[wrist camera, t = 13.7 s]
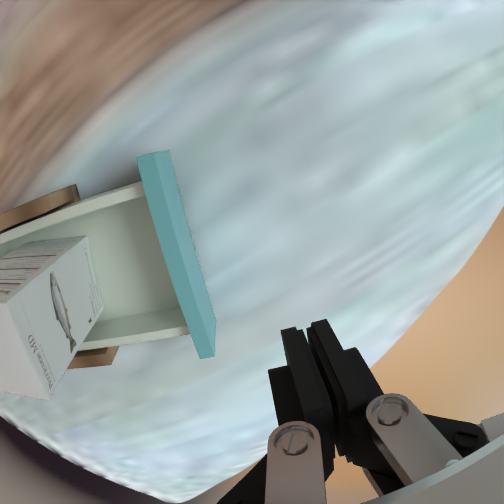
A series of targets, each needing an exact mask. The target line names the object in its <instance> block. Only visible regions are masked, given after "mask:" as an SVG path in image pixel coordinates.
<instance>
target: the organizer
mask: <svg viewBox="0 0 504 504" xmlns="http://www.w3.org/2000/svg"><path fill="white" fill-rule="evenodd" d="M78 201H81V200H80V197H79V193H78V190H77V186H76V184H75V185H72V186H69V187H66V188H64V189H61V190H58V191H55V192H53V193H50V194H48V195H45V196H42V197H40V198H38V199H35V200H33V201H30V202H28V203H26V204H24V205H21V206H19V207H17V208H15V209H12V210H10V211H8V212H6V213H4V214H1V215H0V232H1V231H3V230H5V229H8V228H10V227H12V226H15V225H17V224H20V223H22V222H24V221H27V220H29V219H32V218H35V217H37V216H40V215H42V214H45V213H47V212H50V211H53V210H55V209H58V208H61V207H64V206H66V205H69V204H72V203H75V202H78ZM119 346H120V345H119ZM119 346H112V347H104V348H97V349H89V350H81V351H77V352H76V354H75V356H74V357H73V359H72V361H71V362H70V364H69V366H68V367H67V369H73V368H85V367H95V366H105V365H111V364H112V361H113V359H114V357H115V355H116V352H117V350H118V348H119Z"/></svg>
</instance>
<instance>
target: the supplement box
mask: <svg viewBox="0 0 504 504" xmlns="http://www.w3.org/2000/svg"><path fill="white" fill-rule="evenodd" d="M103 310H104V306H103V303H102V300H101V297H100V293H99V290H98V286H97V282H96V278H95V273H94V268H93V263H92V258H91V253H90V247H89V240H88V236H80V237H71V238H61V239H51V240H42V241H33V242H27V243H25V244H24V245H22V246H20V247H19V248H17V249H15V250H14V251H12V252H10V253H8V254H7V255H5V256H4V257H2V258H1V259H0V391H2V392H6V393H11V394H16V395H21V396H26V397H31V398H36V399H43V400H49V399H50V397H51V395H52V394H53V392H54V390H55V388H56V386H57V385H58V383H59V381H60V379H61V378H62V376H63V374H64V373H65V371H66V369H67V367H68V366H69V364H70V362H71V361H72V359H73V357H74V356H75V354H76V352H77V351H78V349H79V348H80V346H81V344H82V343H83V341H84V339H85V338H86V336H87V335H88V333H89V332H90V330H91V328H92V327H93V325H94V324H95V322H96V321H97V319H98V318H99V316H100V314H101V313H102V311H103Z"/></svg>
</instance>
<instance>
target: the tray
mask: <svg viewBox="0 0 504 504" xmlns="http://www.w3.org/2000/svg"><path fill="white" fill-rule="evenodd" d="M136 160H137V164H138V168H139V172H140V175H141V179H142V181H140V182H137V183H133V184H130V185H127V186H123V187H120V188H117V189H114V190H111V191H108V192H104V193H101V194H98V195H95V196H92V197H89V198H86V199H83V200H81V201H78V202H75V203H72V204H69V205H66V206H64V207H61V208H58V209H55V210H53V211H50V212H47V213H45V214H42V215H40V216H37V217H35V218H32V219H29V220H27V221H24V222H22V223H20V224H17V225H15V226H12V227H10V228H8V229H5V230H3V231H1V232H0V259H1V258H2V257H4V256H5V255H7V254H8V253H10V252H12V251H14V250H15V249H17V248H19V247H20V246H22V245H24V244H25V243H27V242H33V241H42V240H51V239H61V238H71V237H80V236H88V240H89V247H90V253H91V258H92V263H93V268H94V273H95V278H96V282H97V286H98V290H99V293H100V297H101V300H102V303H103V306H104V310H103V311H102V313H101V314H100V316H99V318H98V319H97V321H96V322H95V324H94V325H93V327H92V328H91V330H90V332H89V333H88V335H87V336H86V338H85V339H84V341H83V343H82V344H81V346H80V348H79V349H78V351H81V350H89V349H97V348H104V347H112V346H119V345H126V344H132V343H139V342H145V341H152V340H158V339H164V338H170V337H176V336H181V335H187V334H191V337H192V339H193V342H194V345H195V347H196V350H197V352H198V355H199V358H200V359H203V358H208V357H214V356H215V336H216V318H215V315H214V312H213V309H212V305H211V302H210V299H209V295H208V292H207V289H206V286H205V282H204V279H203V275H202V272H201V269H200V265H199V262H198V258H197V255H196V251H195V248H194V244H193V241H192V237H191V233H190V230H189V226H188V222H187V219H186V215H185V211H184V207H183V204H182V200H181V196H180V192H179V188H178V184H177V180H176V176H175V172H174V168H173V164H172V160H171V156H170V152H169V150H167V151H161V152H155V153H151V154H148V155H144V156H141V157H138V158H136Z"/></svg>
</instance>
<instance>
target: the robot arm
mask: <svg viewBox="0 0 504 504" xmlns="http://www.w3.org/2000/svg"><path fill="white" fill-rule="evenodd" d="M306 329H307V337H308V342H307V339H306V337H305V335H304V332H303V330H302V329H300V330H297V329H296V327H292V328H288V329H284V330H281V335H282V340H283V345H284V350H285V355H286V360H287V366H282V367H278V368H274V369H269V370H268V374H269V379H270V384H271V389H272V395H273V400H274V405H275V410H276V415H277V420H278V425H279V427H277V428H276V429H275V430H274V431H273V432H272V433H271V435H270V436H269V440H268V451H267V454H266V455H265V456H264V457H263V458H262V459H261V460H260V461H259V462H258V463H257V465H256V466H255V467H254V468H253V469H252V470H251V471H250V472H249V473H248V474H247V475H246V476H245V477H244V478H243V479H242V480H240V481H239V482H238V483H237V484H236V485H235V486H234V487H233V488H232V489H231V490H230V491H229V492H228V493H227V494H226V495H225V496H224V497H222V498H221V499H220V500H219V501H218V503H217V504H327V502H326V490H325V481H326V480H327V478H328V477H329V476H330V475H331V473H332V472H333V470H334V462H333V459H334V458H335V445H336V448H337V451H338V454H339V456H344V455H345V457H346V459H347V462H348V463H349V462H353V464H354V465H357V466H360V467H362V469H363V472H364V474H365V475H366V477H367V478H368V480H369V482H370V483H371V485H372V486H373V488H374V489H375V491H376V493H377V494H378V496H379V497H378V498H376V499H373V500H370V501H367V502H364V503H361V504H504V413H501V414H499V415H496V416H493V417H490V418H488V419H484V420H482V421H481V423H480V424H478V425H476V424H472V423H469V422H463V421H457V420H452V419H446V418H442V417H436V416H432V415H427V414H423V413H422V412H421V411H420V410H419V409H418V408H417V407H416V406H415V405H414V404H413V403H412V402H411V401H410V400H409V399H408V398H407V397H405V396H403V395H400V394H393V393H390V394H384V393H383V392H382V390H381V388H380V386H379V385H378V383H377V381H376V380H375V378H374V376H373V374H372V373H371V371H370V369H369V368H368V366H367V364H366V363H365V361H364V359H363V358H362V356H361V354H360V353H359V351H358V350H357V348H355V347H354V348H350V349H347V350H343V348H342V346H341V344H340V343H339V341H338V339H337V337H336V335H335V333H334V332H333V330H332V328H331V326H330V324H329V323H328V321H327V319H324V320H320V321H316V322H312V323H311V327H308V328H306Z"/></svg>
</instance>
